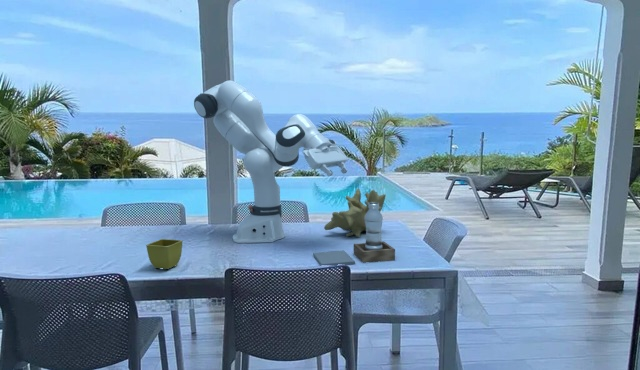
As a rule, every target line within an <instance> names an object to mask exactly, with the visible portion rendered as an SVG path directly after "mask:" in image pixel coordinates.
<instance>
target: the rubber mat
mask: <svg viewBox="0 0 640 370" xmlns="http://www.w3.org/2000/svg"><path fill="white" fill-rule="evenodd" d="M312 257H314V259H315V260H316V261H317V263H318V265H319V266H320V265H338V264H345V265H344V266H348V265H356V260H354V258H352V257H351V256H350V255H349V253H347V252H346V251H345V250H335V251H334V250H332V251H318V252H313V253H312Z"/></svg>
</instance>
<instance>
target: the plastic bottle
mask: <svg viewBox="0 0 640 370" xmlns="http://www.w3.org/2000/svg"><path fill="white" fill-rule="evenodd" d="M368 208H369V210H368V212H367V213H366V215H365V225H366V231H365V233H366V234H365V235H366V236H365V243H366V244H365V251H370V250H382V249H383V247H382V242H383V241H382V226H383V220H384V219H383V218H384V217H383V215H382V212H381V211H379V210H378V209H379V203H376V202H371V203H369V207H368Z"/></svg>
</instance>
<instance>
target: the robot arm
mask: <svg viewBox="0 0 640 370" xmlns="http://www.w3.org/2000/svg"><path fill="white" fill-rule="evenodd" d="M193 107H194V110H195V111H196V113H197V114H198V115H199V116H200V117H201V118H203V119H211V118H213V125H214V126H215V128H216V130H217V131H218V132H219V133H220V135H221V136H222V138H224V139H225V140H226V141H227V142H228V143H229V144H230V146H232V147H233V148H234V149H235V150H236V151H237V152H239V153H241V154H243V155H244V157H243V167H244V170H245V171H246V172H247V173H248V174H249V176H250V179H251V183H252V186H253V201H254V204H253V205H251V204H250V205H248V210H249V215H248V216H246V217H245V218H244V219H243V220H242V221H240V223H239V224H238V227H237V231H236V233H234V234H233V235H232V241H233V242H234V243H237V244H238V243H239V244H242V243H243V244H247V243H248V244H249V243H273V242H276V241H278V240H281V239H283V238H285V237H286V233H285V232H284V228H283V223H282V215H283V212H282V211H283V210H282V209H283V208H282V204H281V188H280V185H279V184H278V182H277V179H276V176H275V172H279V171H280V170H281V169H282V168H284V167H292V166H294V165H295V164H296V163H298V161H299V158H300V157H299V156H300V148H303V149H302V154H303V156H304V159H305V162H306V163H307V165H309V167H310V168H311V169H313V170H320V171H321V172H323V174H324V173H325V174H326V175H327V176H328V177H331V176H333V175H334V172H333V171H332V169H329V168H332V167H338V168H339V169H340V173H342V174H343V175H344V174H347V172H348V169H347V167H346V162H347V161H348V157H347V155H346V154H345V153H344V152H343V150H342V149H341V148H340V147H339V146H338V142H336V140H333V139H331V138H327V137H326V136H324V135H323V134H322V133H321V132H320V131H319V130H318V128H317V126H316V125H315V124H314V123H313V122H312V121H311V119H310V118H309V117H308V116H306V115H304V114H303V113H302V114H301V113H295V114H294V115H292V116H291V117H290V118H288V120H287V123H286V124H285V125H284V127H282V128H280V129H279V130H278V131H276V134H275V133H274V132H273V131H272V130H271V129H270V128H269V126H268V124H267V122H266V119H265V116H264V111H263V105H262V103H261V102H260V100H259V99H258V98H257V96H255V95H254V94H253V92H251V91H250V90H249V89H248V88H246V87H244V86H243V85H241V84H240V83H238V82H236V81H234V80H230V79H229V80H225V81H224V82H222V83H220V84H217V85H213V86H212V87H211V88H209V89H207V90H205V91H204V92H202V93H200V94H198V95H197V96H196V97H195V98H194V100H193Z"/></svg>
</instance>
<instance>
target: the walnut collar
mask: <svg viewBox="0 0 640 370" xmlns="http://www.w3.org/2000/svg"><path fill="white" fill-rule="evenodd" d="M365 244H366V242H360V243H353V255H354V256H355V257H356V258H357V259H358V260H359V261H360V262H361V263H362V262H363V263H362V264H366V262H369V263H376V262H377V263H378V261H380V262H389V261H390V262H391V261H396V249H395V248H394V247H392V245H390V244H388V243H387V242H385V241H382V247H383V249H382V250H370V251H365Z"/></svg>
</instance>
